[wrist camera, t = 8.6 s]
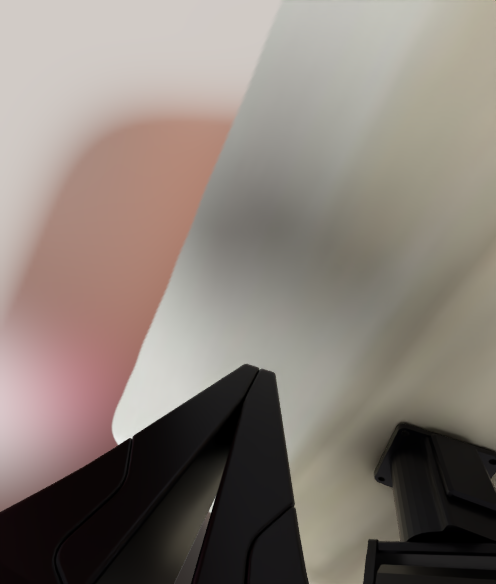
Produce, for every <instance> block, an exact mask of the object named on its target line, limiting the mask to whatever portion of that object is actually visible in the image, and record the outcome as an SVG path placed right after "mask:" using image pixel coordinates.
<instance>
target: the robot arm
mask: <svg viewBox="0 0 496 584" xmlns="http://www.w3.org/2000/svg"><path fill="white" fill-rule="evenodd" d="M495 473H496V453H495V452H493V451H489V450H486V449H483V448H480V447H477V446H474V445H471V444H467V443H464V442H461V441H458V440H455V439H452V438H449V437H445V436H442V435H439V434H436V433H433V432H430V431H427V430H423V429H420V428H417V427H414V426H411V425H408V424H400V425H398V426H397V428H396V430H395V432H394V434H393V436H392V438H391V440H390V442H389V444H388V446H387V448H386V450H385V452H384V454H383V456H382V458H381V460H380V462H379V464H378V466H377V468H376V470H375V473H374V475H375V480H376V481H377V482H379V483H382V484H384V485H387V486H390V487H392V488H393V493H394V499H395V506H396V513H397V520H398V527H399V534H400V541H401V542H400V541H378V540H377V539H369V540H368V549H367V555H366V562H365V572H364V581H363V584H496V490H495V487H494V485H493V483H492V481H491V478H492V476H493V475H494V474H495ZM216 494H217V495H216ZM215 497H216V498H215ZM214 499H215V502H214V505H213V509H212V512H211V516H210V519H209V522H208V526H207V529H206V533H205V536H204V540H203V544H202V547H201V550H200V554H199V557H198V561H197V564H196V568H195V571H194V575H193V578H192V582H191V584H309V582H308V578H307V573H306V568H305V562H304V556H303V551H302V545H301V540H300V534H299V527H298V521H297V514H296V509H295V508H294V505H295V502H294V496H293V489H292V482H291V475H290V469H289V462H288V455H287V449H286V442H285V435H284V429H283V422H282V415H281V408H280V402H279V395H278V388H277V382H276V375H275V373H274V372H272V371H268V370H265V369H260V370H259V368H258V367H255V366H252V365H249V364H244V365H242V366H241V367H239V368H238V369H236V370H235V371H233V372H231V373H230V374H228V375H227V376H225V377H224V378H222V379H221V380H219V381H217V382H216V383H214V384H213V385H211V386H210V387H208V388H207V389H205V390H204V391H202V392H200V393H199V394H197V395H196V396H194V397H193V398H191V399H190V400H188V401H186V402H185V403H183V404H182V405H180V406H179V407H177V408H176V409H174V410H173V411H171V412H169V413H168V414H166V415H165V416H163V417H162V418H160V419H159V420H157V421H155V422H154V423H152V424H151V425H149V426H148V427H146V428H145V429H143V430H142V431H140V432H138V433H137V434H135V435H134V436H133V438H132V439H131V438H129V439H127V440H126V441H124V442H123V443H121V444H120V445H118V446H116V447H115V448H113V449H112V450H110V451H108V452H107V453H105V454H104V455H102V456H100V457H99V458H97V459H95V460H94V461H92V462H91V463H89V464H87V465H86V466H84V467H82V468H80V469H79V470H77V471H75V472H73V473H71V474H70V475H68V476H66V477H64V478H63V479H61V480H59V481H57V482H55V483H54V484H52V485H50V486H48V487H46V488H45V489H42V490H41V491H39V492H37V493H35V494H33V495H31V496H30V497H27V498H26V499H24V500H22V501H20V502H18V503H16V504H14V505H13V506H11V507H9V508H7V509H5V510H3V511H1V512H0V584H174V583H175V581H176V579H177V577H178V575H179V572H180V570H181V568H182V566H183V564H184V562H185V560H186V558H187V555H188V553H189V551H190V549H191V547H192V545H193V543H194V541H195V539H196V536H197V534H198V532H199V530H200V528H201V526H202V524H203V522H204V520H205V518H206V515H207V513H208V511H209V509H210V507H211V505H212V503H213V501H214Z"/></svg>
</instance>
